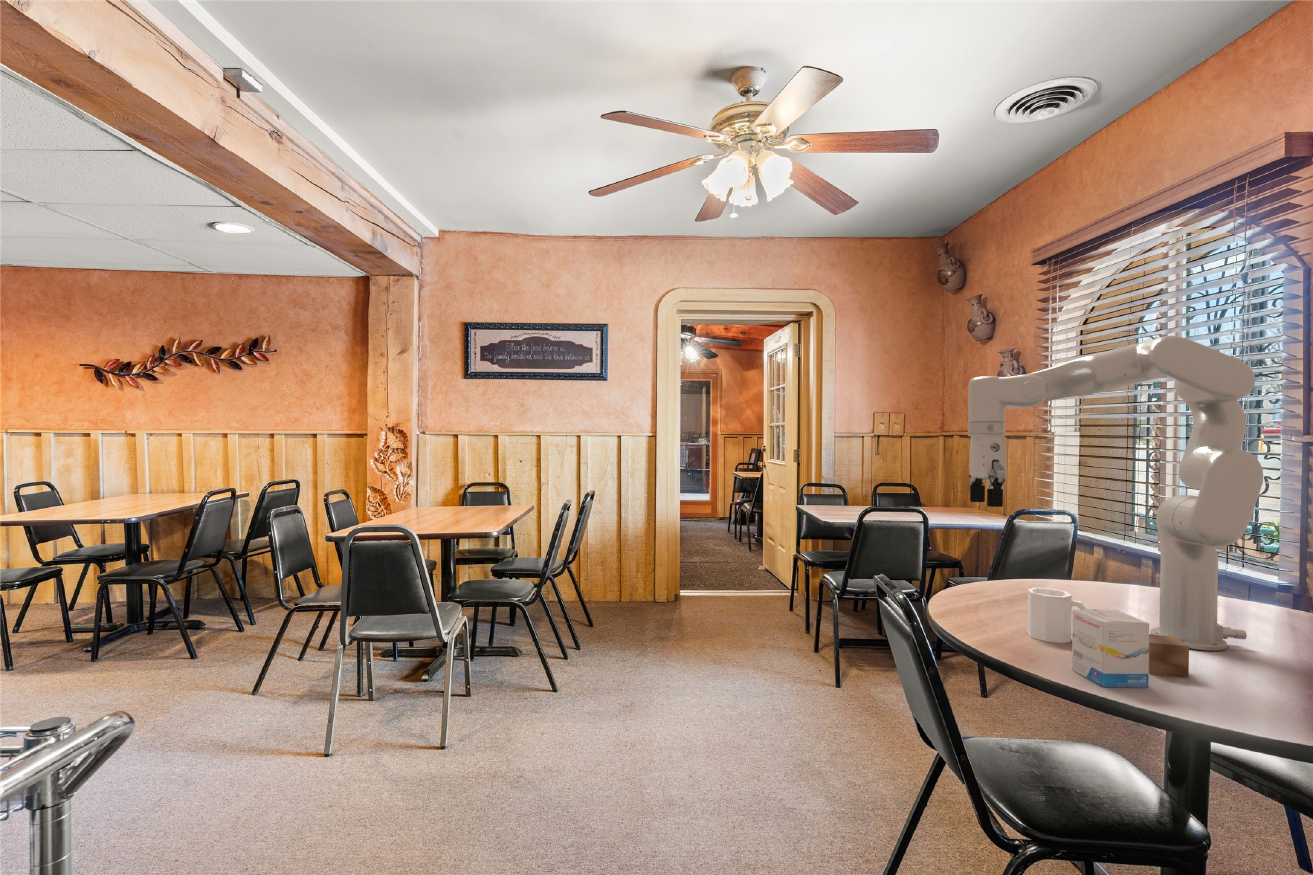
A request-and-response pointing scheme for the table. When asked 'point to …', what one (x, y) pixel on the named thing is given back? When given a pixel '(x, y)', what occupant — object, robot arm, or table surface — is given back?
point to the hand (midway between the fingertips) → (985, 504)
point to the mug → (1050, 614)
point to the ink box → (1110, 648)
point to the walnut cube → (1168, 656)
